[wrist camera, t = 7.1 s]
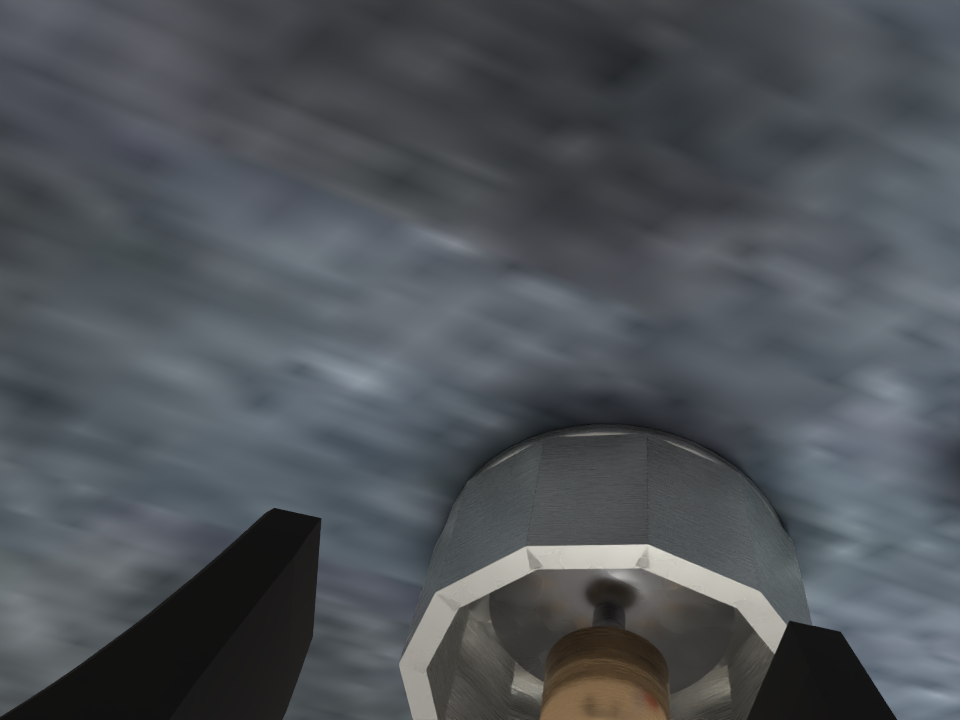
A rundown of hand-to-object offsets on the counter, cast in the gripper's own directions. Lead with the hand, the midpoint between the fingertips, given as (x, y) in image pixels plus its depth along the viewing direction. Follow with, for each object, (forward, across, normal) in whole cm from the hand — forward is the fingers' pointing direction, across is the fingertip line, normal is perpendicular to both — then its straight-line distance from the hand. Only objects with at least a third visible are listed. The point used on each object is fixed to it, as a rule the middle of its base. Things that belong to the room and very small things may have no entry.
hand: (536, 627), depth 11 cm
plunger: (+9, -2, +8) cm, 12 cm away
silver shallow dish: (+10, -2, +9) cm, 14 cm away
